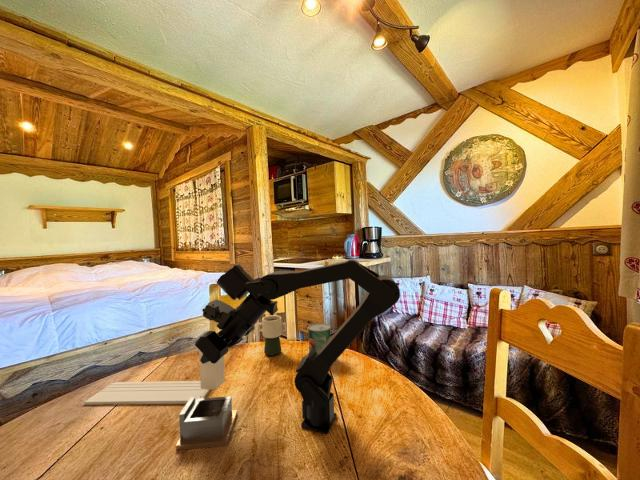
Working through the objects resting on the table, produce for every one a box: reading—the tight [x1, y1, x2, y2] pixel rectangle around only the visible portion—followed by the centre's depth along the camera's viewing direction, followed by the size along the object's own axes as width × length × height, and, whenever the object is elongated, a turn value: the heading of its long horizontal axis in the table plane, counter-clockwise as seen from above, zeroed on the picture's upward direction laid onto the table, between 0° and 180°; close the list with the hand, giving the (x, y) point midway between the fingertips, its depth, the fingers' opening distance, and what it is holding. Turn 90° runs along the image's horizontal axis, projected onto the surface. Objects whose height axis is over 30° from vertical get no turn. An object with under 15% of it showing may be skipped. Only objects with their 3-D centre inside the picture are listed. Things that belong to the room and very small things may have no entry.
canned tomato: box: [307, 322, 332, 352], centre depth 94 cm, size 8×8×11 cm
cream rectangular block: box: [198, 336, 226, 391], centre depth 66 cm, size 4×4×12 cm
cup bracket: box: [175, 395, 238, 451], centre depth 60 cm, size 10×10×6 cm
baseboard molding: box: [83, 380, 212, 406], centre depth 76 cm, size 31×3×12 cm
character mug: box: [257, 314, 288, 356], centre depth 99 cm, size 11×7×13 cm, turn 84°
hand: (206, 357), depth 66 cm, fingers closed on cream rectangular block, 4 cm apart
